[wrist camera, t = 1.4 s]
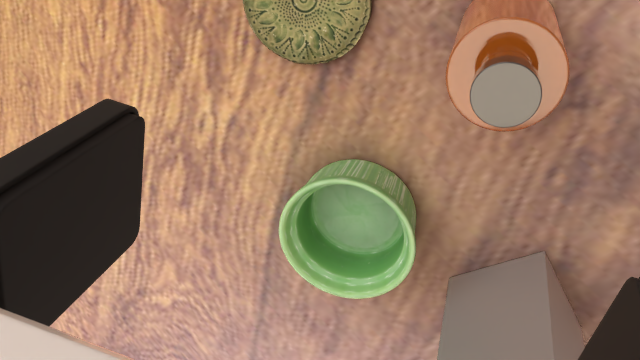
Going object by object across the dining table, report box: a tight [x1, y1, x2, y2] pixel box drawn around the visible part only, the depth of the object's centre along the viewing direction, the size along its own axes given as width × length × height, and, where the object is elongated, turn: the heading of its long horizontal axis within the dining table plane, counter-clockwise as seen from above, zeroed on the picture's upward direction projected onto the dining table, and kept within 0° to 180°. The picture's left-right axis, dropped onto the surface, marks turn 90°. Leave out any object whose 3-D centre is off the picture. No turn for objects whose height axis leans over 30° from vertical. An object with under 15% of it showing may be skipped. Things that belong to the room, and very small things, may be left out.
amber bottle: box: [446, 0, 570, 131], centre depth 28 cm, size 5×5×11 cm
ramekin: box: [279, 159, 416, 299], centre depth 39 cm, size 9×9×4 cm
